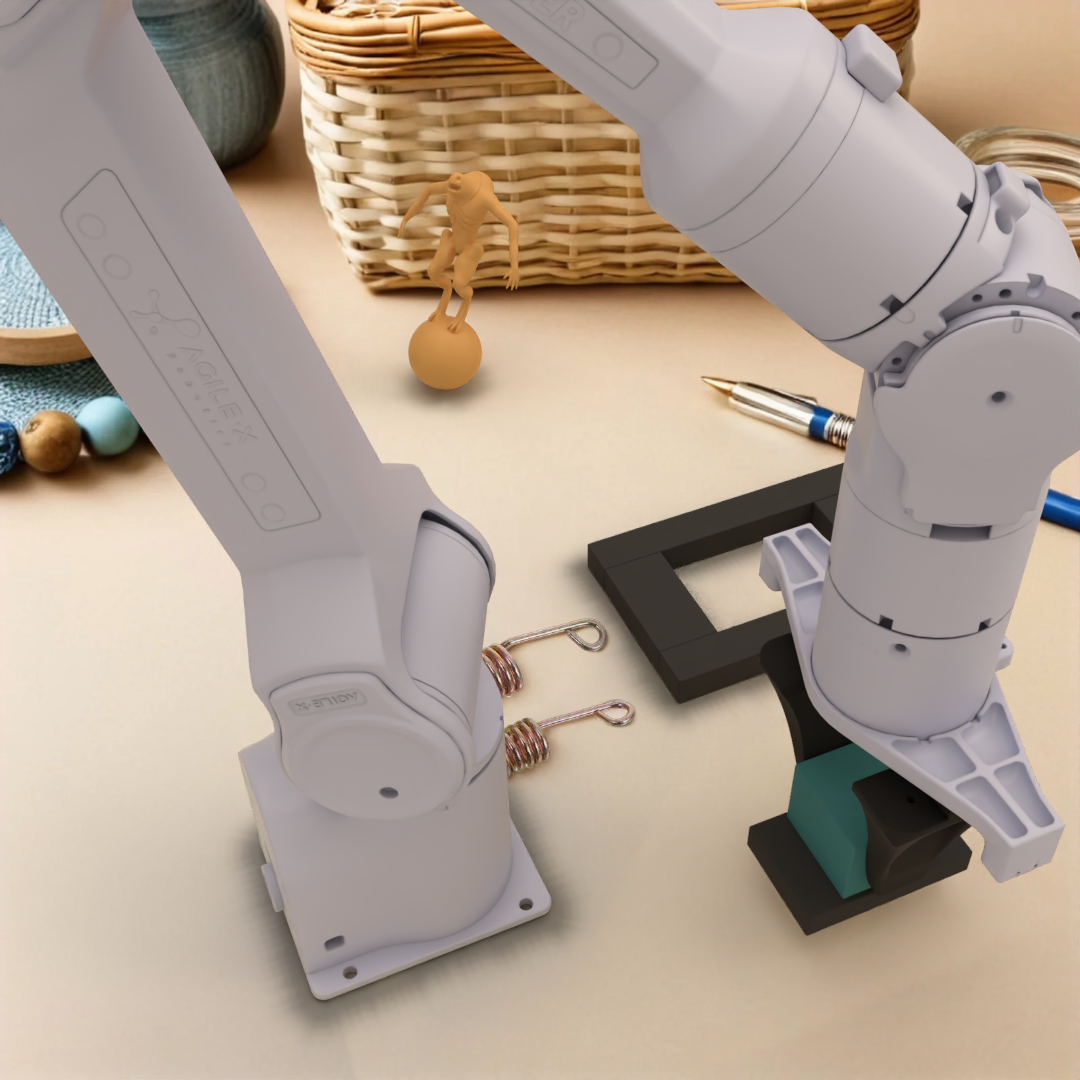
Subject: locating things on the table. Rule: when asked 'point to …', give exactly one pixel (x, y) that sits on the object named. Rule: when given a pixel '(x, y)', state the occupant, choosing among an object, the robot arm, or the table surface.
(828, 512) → the dark rectangular frame
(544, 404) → the table surface
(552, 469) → the table surface
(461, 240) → the figurine
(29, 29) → the robot arm
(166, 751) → the table surface
